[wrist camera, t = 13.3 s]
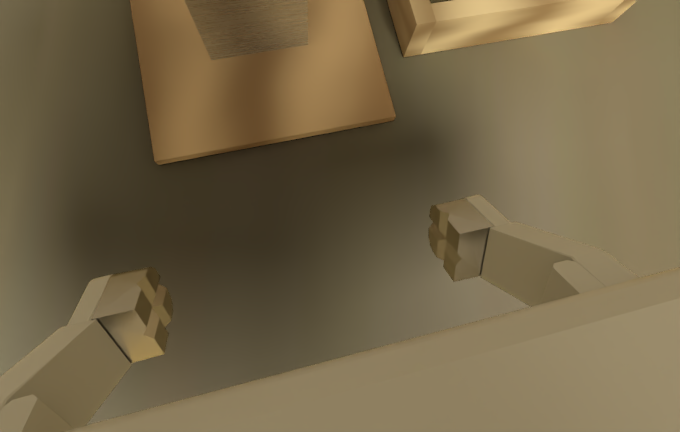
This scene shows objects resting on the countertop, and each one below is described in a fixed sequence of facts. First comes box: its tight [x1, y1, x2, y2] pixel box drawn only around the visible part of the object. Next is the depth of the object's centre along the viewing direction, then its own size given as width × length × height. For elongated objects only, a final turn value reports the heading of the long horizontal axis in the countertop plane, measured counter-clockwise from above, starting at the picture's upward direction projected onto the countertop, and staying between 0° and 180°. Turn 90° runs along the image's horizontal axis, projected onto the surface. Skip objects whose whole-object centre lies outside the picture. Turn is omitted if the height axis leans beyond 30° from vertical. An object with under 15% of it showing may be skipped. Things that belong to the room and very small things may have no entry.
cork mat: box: [130, 0, 396, 165], centre depth 19 cm, size 12×12×1 cm
